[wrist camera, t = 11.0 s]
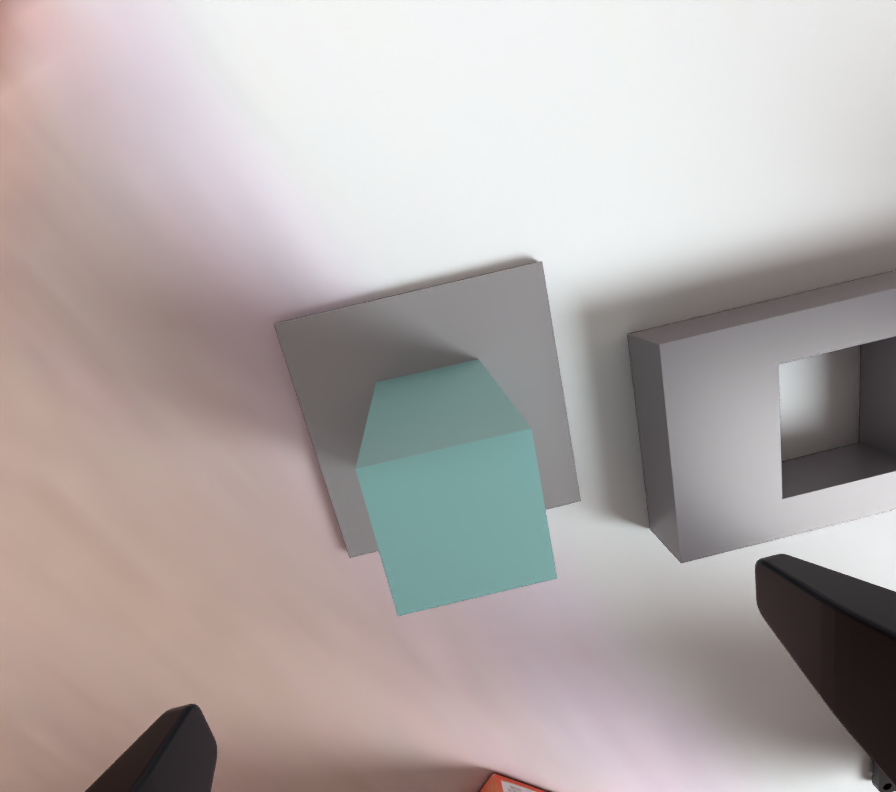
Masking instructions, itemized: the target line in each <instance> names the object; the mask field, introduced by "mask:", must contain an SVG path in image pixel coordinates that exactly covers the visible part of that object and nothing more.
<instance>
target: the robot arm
mask: <svg viewBox="0 0 896 792" xmlns="http://www.w3.org/2000/svg"><path fill="white" fill-rule="evenodd" d="M755 581H756V601H757V605H758V608H759V611H760V613H761V615H762V617H763V618H764V620H765V621H766V622H767V624H768V625H769V627H770V628H771V629H772V631H773V632H774V633H775V635H776V636H777V638H778V639H779V640H780V642H781V643H782V644H783V646H784V647H785V649H786V650H787V651H788V653H789V654H790V655H791V657H792V658H793V660H794V661H795V662H796V664H797V665H798V666H799V668H800V669H801V671H802V672H803V673H804V675H805V676H806V677H807V679H808V680H809V682H810V683H811V684H812V686H813V687H814V688H815V690H816V691H817V693H818V694H819V695H820V697H821V698H822V699H823V701H824V702H825V703H826V705H827V706H828V707H829V709H830V710H831V711H832V712H833V714H834V715H835V716H836V717H837V719H838V720H839V721H840V722H841V723H842V725H843V726H844V727H845V728H846V729H847V731H848V732H849V733H850V734H851V735H852V736H853V738H854V739H855V740H856V741H857V742H858V743H859V745H860V746H861V747H862V748H863V749H864V750H865V752H866V753H867V754H868V755H869V756H870V757H871V758H872V760H873V771H872V783H873V785H874V786H875V787H876V788H877V789H878V790H879V791H880V792H893V791H896V592H895V591H892V590H889V589H886V588H883V587H880V586H877V585H874V584H871V583H868V582H865V581H862V580H860V579H857V578H854V577H851V576H848V575H845V574H842V573H839V572H836V571H833V570H830V569H827V568H824V567H821V566H819V565H816V564H813V563H810V562H807V561H804V560H801V559H798V558H795V557H792V556H789V555H786V554H777V555H773V556H769V557H765V558H761V559H759V560H758V561H757V562H756V564H755ZM216 761H217V744H216V741H215V738H214V736H213V734H212V732H211V730H210V728H209V725H208V723H207V721H206V719H205V717H204V715H203V713H202V711H201V709H200V708H199V706H197V705H196V704H188V705H184V706H180V707H176V708H172V709H170V710H167V711H166V712H165V713H163V714H162V715H161V716H160V717H159V718H158V719H157V720H156V721H155V722H154V723H153V724H152V725H151V726H150V727H149V728H148V729H147V730H146V731H145V732H144V733H143V734H142V735H141V736H140V737H139V738H138V739H137V740H136V741H135V742H134V743H133V744H132V745H131V746H130V747H129V748H128V749H127V750H126V751H125V752H124V753H123V754H122V755H121V756H120V757H119V758H118V759H117V760H116V761H115V762H114V763H113V764H112V765H111V766H110V767H109V768H108V769H107V770H106V771H105V772H104V773H103V774H102V775H101V776H100V777H99V778H98V779H97V780H96V781H95V782H94V783H93V784H92V785H91V786H90V787H89V788H88V789H87V790H86V791H85V792H211V787H212V782H213V776H214V771H215V766H216Z"/></svg>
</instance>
